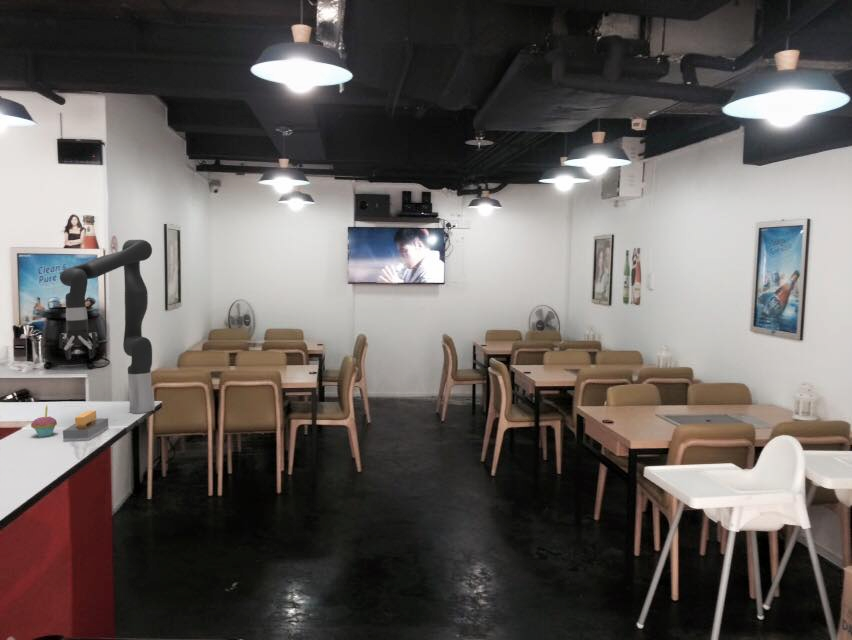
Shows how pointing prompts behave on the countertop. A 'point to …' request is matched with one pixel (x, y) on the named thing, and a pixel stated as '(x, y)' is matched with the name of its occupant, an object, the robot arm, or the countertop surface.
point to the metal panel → (85, 430)
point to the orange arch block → (85, 419)
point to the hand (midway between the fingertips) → (80, 358)
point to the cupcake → (44, 425)
